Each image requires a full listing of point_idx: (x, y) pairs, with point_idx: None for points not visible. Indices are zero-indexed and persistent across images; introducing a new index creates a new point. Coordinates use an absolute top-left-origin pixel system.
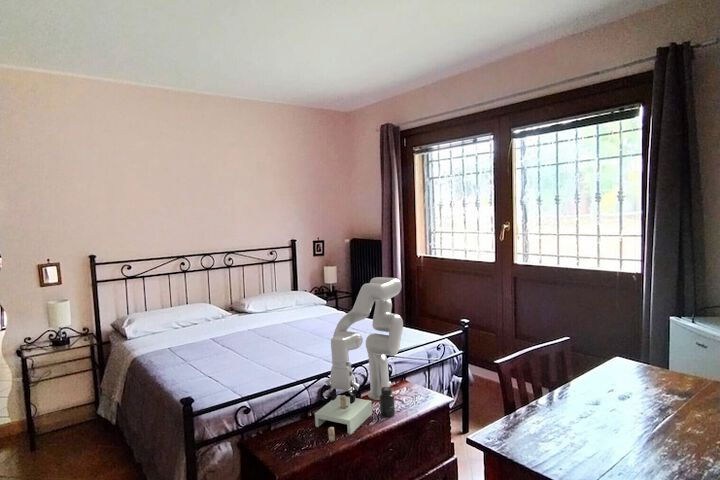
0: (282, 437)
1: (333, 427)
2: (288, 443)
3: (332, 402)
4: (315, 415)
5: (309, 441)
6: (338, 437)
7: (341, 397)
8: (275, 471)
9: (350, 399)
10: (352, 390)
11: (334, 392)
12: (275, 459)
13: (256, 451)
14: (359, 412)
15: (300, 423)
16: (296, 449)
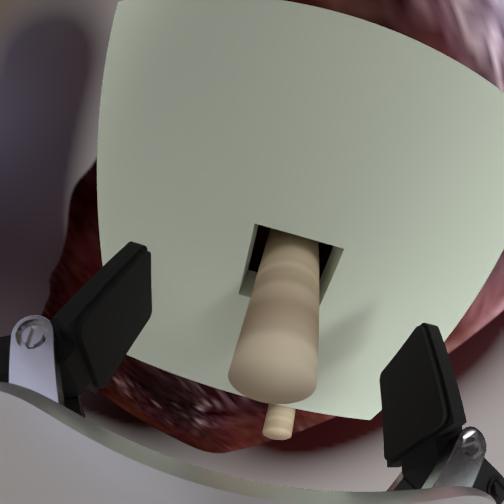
0: None
1: (286, 431)
2: (141, 384)
3: (126, 182)
4: None
5: (199, 387)
6: None
7: (260, 399)
8: (194, 447)
9: (389, 422)
10: (441, 476)
11: (102, 347)
12: (164, 425)
13: (101, 393)
14: (442, 337)
15: (79, 271)
16: (185, 410)
